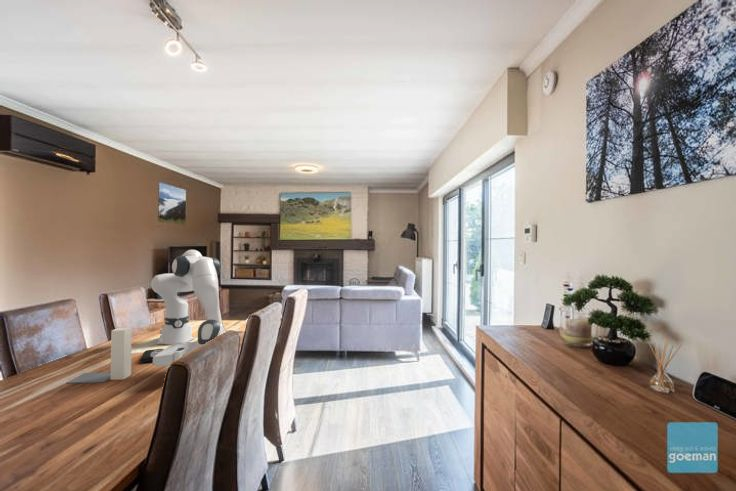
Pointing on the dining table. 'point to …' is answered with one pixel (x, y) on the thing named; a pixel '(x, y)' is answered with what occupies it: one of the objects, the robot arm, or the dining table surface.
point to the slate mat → (91, 378)
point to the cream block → (121, 353)
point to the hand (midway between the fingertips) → (152, 353)
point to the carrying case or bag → (147, 356)
